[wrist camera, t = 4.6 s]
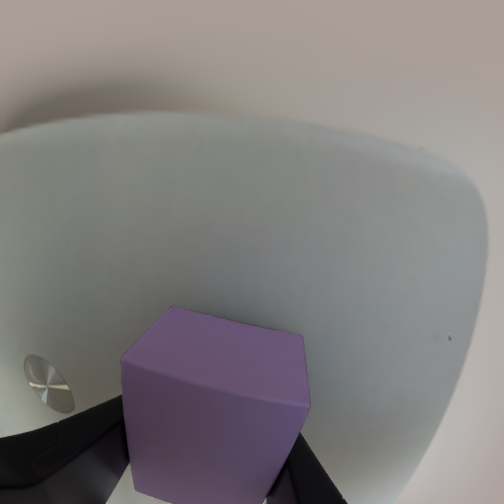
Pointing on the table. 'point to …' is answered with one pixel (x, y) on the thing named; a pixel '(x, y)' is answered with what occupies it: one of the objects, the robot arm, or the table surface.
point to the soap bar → (211, 407)
